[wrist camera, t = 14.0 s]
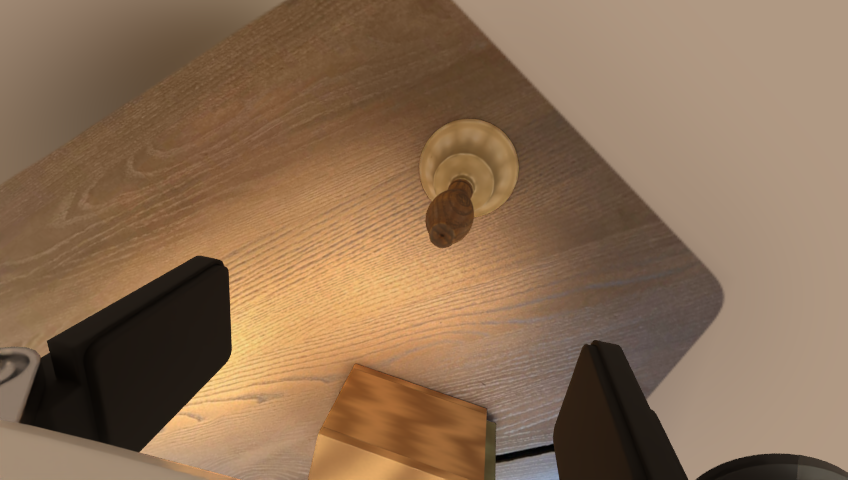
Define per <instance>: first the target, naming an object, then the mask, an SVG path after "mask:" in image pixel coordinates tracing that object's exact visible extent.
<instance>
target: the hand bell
mask: <svg viewBox="0 0 848 480" xmlns="http://www.w3.org/2000/svg"><path fill="white" fill-rule="evenodd" d="M518 173H519V163H518V157H517V153H516V150H515V148H514V146H513V144H512V142H511V141H510V139H509V138H508V137H507V135H506V134H505V133H504V132H503V131H501V130H500V129H499V128H497V127H496V126H494V125H492V124H490V123H488V122H485V121H482V120H478V119H461V120H456V121H453V122H450V123H448V124H446V125H444V126H442V127H441V128H440V129H438V130H437V131H436V132H435V133H434V134H433V135H432V136H431V137H430V138H429V140H428V141H427V143H426V144H425V146H424V148H423V150H422V153H421V157H420V162H419V175H420V180H421V184H422V187H423V189H424V191H425V193H426V194H427V196H428V197H429V199H430V200H431V201H432V202H431V204H430V205H429V208H428V210H427V213H426V227H427V230H428V233H429V236H430V240H431V242H432V243H433V244H434V245H435V246H437V247H439V248H446V247H449V246H451V245H452V244H454V243H456V242H458V241H460V240H462V239H463V238H464V237H465V236H466V235H467V233H468V232H469V230H470V228H471V226H472V223H473V219H474V217H479V216H483V215H486V214H489V213H491V212H493V211H494V210H496V209H497V208H499V207H500V206H501V205H503V204H504V203H505V202H506V200H507V199H508V198H509V196H510V195H511V193H512V192H513V190H514V188H515V185H516V182H517V179H518Z"/></svg>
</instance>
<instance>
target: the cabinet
mask: <svg viewBox="0 0 848 480" xmlns="http://www.w3.org/2000/svg"><path fill="white" fill-rule="evenodd" d="M486 414H487V409H486V408H483V407H480V406H477V405H474V404H471V403H468V402H466V401H463V400H460V399H457V398H454V397H451V396H448V395H445V394H442V393H439V392H437V391H434V390H431V389H428V388H425V387H422V386H419V385H416V384H413V383H410V382H408V381H405V380H402V379H399V378H396V377H393V376H390V375H387V374H384V373H382V372H379V371H376V370H373V369H370V368H367V367H364V366H361V365H358V364H355V365H354V367H353V369H352V370H351V372H350V374H349V376H348V378H347V380H346V382H345V384H344V386H343V388H342V389H341V391H340V393H339V395H338V397H337V399H336V401H335V403H334V405H333V407H332V409H331V410H330V412H329V414H328V416H327V418H326V420H325V422H324V424H323V426H322V428H321V430H320V432H319V433H318V438H317V442H316V446H315V451H314V455H313V459H312V464H311V468H310V472H309V477H308V480H484V469H485V443H486V416H487V415H486Z"/></svg>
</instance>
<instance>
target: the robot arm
mask: <svg viewBox="0 0 848 480" xmlns="http://www.w3.org/2000/svg"><path fill="white" fill-rule="evenodd" d="M47 343H48V347H49V351H50V353H48V354H47V355H45V356H43V357H42V358H41V357H40V355H39V354H38V353H37V352H36V351H35V350H32V349H30V348H26V347H5V348H0V480H241V479H237V478H233V477H229V476H226V475H222V474H218V473H215V472H211V471H207V470H203V469H199V468H196V467H192V466H188V465H184V464H181V463H177V462H173V461H169V460H165V459H162V458H158V457H154V456H150V455H146V454H143V453H139V452H140V451H141V450H142V449H143V448H144V447H145V446H146V445H147V444H148V443H149V442H150V441H151V440H152V439H153V438H154V437H155V436H156V434H157V433H158V432H159V431H160V430H161V429H162V428H163V427H164V426H165V425H166V424H167V423H168V422H169V421H170V420H171V419H172V418H173V417H174V416H175V415H176V414H177V413H178V412H179V411H180V410H181V409H182V408H183V407H184V406H185V405H186V404H187V403H188V402H189V401H190V400H191V399H192V398H193V397H194V395H195V394H196V393H197V392H198V391H199V390H200V389H201V388H202V387H203V386H204V385H205V384H206V383H207V382H208V381H209V380H210V379H211V378H212V377H213V376H214V375H215V374H216V373H217V372H218V371H219V370H220V369H221V368H222V367H223V366H224V365H225V364H226V362H227V361H228V359H229V357H230V355H231V351H232V344H231V319H230V294H229V272H228V269H227V267H225V266H224V264H223V262H222V261H221V260H218V259H214V258H209V257H204V256H196V257H194V258H192V259H190V260H189V261H187V262H185V263H183V264H181V265H180V266H178V267H176V268H174V269H173V270H171V271H169V272H167V273H166V274H164V275H162V276H160V277H159V278H157V279H155V280H153V281H152V282H150V283H148V284H146V285H145V286H143V287H141V288H139V289H138V290H136V291H134V292H132V293H130V294H129V295H127V296H125V297H123V298H122V299H120V300H118V301H116V302H115V303H113V304H111V305H109V306H108V307H106V308H104V309H102V310H101V311H99V312H97V313H95V314H94V315H92V316H90V317H88V318H86V319H85V320H83V321H81V322H79V323H78V324H76V325H74V326H72V327H71V328H69V329H67V330H65V331H64V332H62V333H60V334H58V335H57V336H55V337H53V338H51V339H50V340H48V341H47ZM553 442H554V448H555V455H556V461H557V467H558V473H559V480H688V478H687V476H686V474H685V472H684V470H683V468H682V466H681V464H680V462H679V459H678V457H677V455H676V453H675V451H674V449H673V447H672V445H671V443H670V441H669V439H668V437H667V435H666V433H665V431H664V429H663V427H662V425H661V423H660V420H659V419H658V417H657V415H656V413H655V412H654V411H653V410H651V409H650V407H649V405H648V403H647V401H646V399H645V397H644V394H643V392H642V390H641V388H640V386H639V384H638V382H637V380H636V378H635V376H634V373H633V371H632V369H631V367H630V365H629V363H628V361H627V359H626V357H625V355H624V352H623V350H622V348H621V347H620V346H619V345H616V344H611V343H606V342H602V341H597V340H594V341H593V342H592V343H591V345H588V344H585V345H584V346H583V348H582V350H581V353H580V356H579V358H578V361H577V364H576V367H575V370H574V373H573V375H572V378H571V381H570V384H569V387H568V390H567V392H566V395H565V398H564V401H563V404H562V407H561V410H560V412H559V415H558V418H557V421H556V424H555V427H554V433H553Z"/></svg>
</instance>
